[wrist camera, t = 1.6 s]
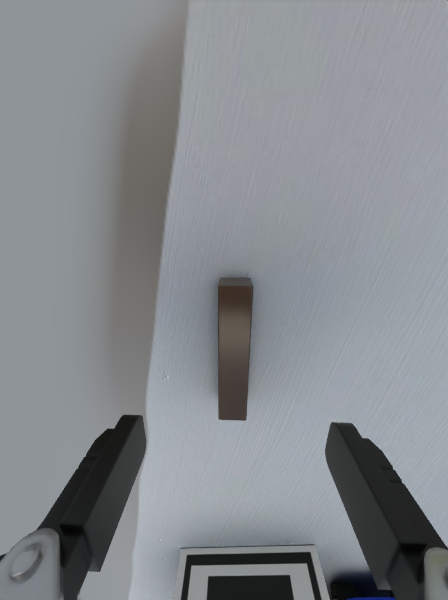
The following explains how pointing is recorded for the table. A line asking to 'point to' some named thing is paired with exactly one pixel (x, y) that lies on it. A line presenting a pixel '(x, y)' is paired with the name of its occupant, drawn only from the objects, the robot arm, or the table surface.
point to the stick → (234, 346)
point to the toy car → (352, 593)
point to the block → (250, 574)
